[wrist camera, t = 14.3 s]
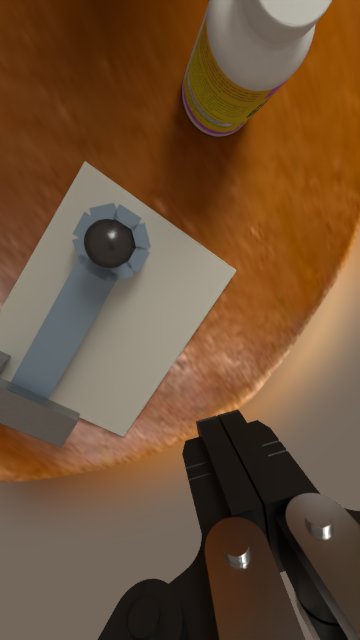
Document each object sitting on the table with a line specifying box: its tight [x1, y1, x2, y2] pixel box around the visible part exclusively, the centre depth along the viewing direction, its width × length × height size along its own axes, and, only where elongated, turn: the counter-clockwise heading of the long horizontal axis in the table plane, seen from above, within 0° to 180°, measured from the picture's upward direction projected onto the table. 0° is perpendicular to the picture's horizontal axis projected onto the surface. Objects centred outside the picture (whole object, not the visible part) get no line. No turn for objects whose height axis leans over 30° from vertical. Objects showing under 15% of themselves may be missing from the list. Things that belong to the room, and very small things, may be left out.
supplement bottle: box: [182, 0, 332, 136], centre depth 20 cm, size 7×7×13 cm
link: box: [11, 203, 151, 399], centre depth 26 cm, size 19×6×3 cm, turn 148°
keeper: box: [0, 351, 80, 448], centre depth 27 cm, size 3×10×6 cm, turn 56°
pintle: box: [84, 219, 133, 268], centre depth 23 cm, size 3×3×9 cm
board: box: [0, 161, 237, 437], centre depth 29 cm, size 22×17×1 cm
